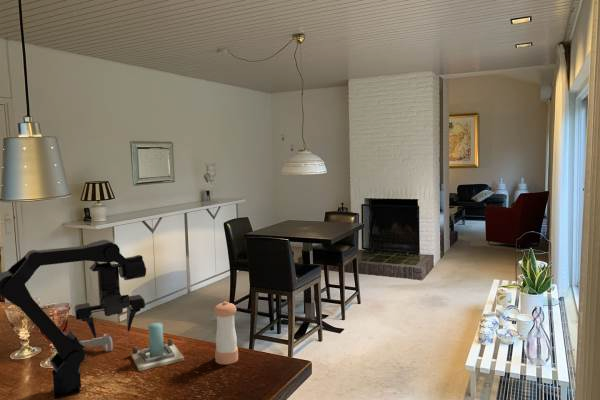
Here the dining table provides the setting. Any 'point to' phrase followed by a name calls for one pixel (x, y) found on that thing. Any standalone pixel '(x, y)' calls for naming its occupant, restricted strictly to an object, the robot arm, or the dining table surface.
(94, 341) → the caliper
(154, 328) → the pin
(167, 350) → the board
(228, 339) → the salt shaker
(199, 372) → the dining table surface
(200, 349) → the dining table surface
